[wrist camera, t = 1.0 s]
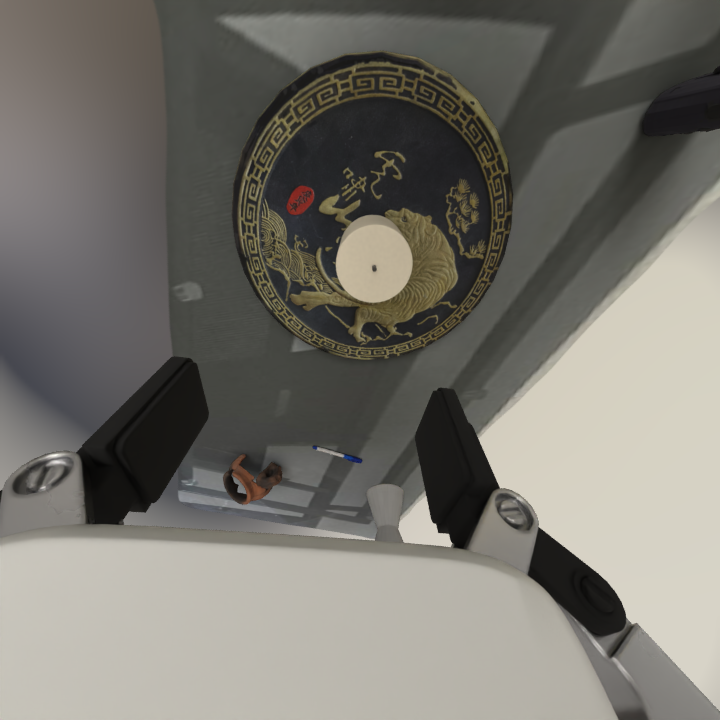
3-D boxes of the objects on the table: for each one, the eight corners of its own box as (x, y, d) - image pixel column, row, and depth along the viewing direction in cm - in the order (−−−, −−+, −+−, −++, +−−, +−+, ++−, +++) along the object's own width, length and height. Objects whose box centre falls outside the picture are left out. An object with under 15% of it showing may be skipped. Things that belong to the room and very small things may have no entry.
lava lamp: (375, 479, 58) (390, 775, 30) (411, 488, 61) (458, 773, 32) (359, 499, 63) (358, 770, 35) (393, 507, 65) (418, 769, 37)
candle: (363, 199, 27) (364, 206, 21) (417, 241, 29) (431, 258, 23) (327, 259, 30) (320, 279, 24) (378, 293, 32) (382, 319, 27)
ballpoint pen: (363, 458, 54) (363, 462, 53) (361, 460, 55) (361, 464, 54) (313, 444, 52) (312, 448, 51) (312, 447, 52) (311, 451, 51)
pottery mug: (264, 482, 60) (233, 510, 53) (246, 445, 59) (211, 469, 52) (301, 479, 54) (272, 510, 47) (281, 437, 53) (248, 463, 46)
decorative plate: (164, 199, 27) (455, -86, 17) (175, 197, 28) (447, -65, 19) (337, 390, 41) (542, 293, 32) (337, 382, 43) (534, 287, 34)
